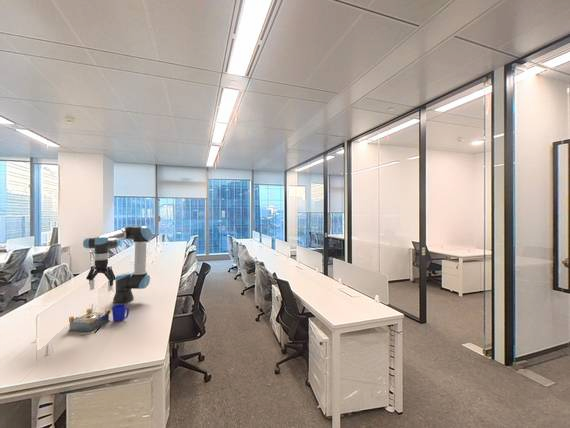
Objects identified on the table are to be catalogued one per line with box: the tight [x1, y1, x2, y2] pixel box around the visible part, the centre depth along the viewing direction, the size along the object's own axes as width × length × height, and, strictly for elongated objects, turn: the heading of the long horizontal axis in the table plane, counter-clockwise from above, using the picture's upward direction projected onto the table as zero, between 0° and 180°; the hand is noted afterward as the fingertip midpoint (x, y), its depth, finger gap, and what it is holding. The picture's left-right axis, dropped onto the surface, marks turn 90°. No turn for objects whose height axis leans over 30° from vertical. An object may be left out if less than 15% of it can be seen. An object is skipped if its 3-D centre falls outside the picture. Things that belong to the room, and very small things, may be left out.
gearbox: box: [68, 308, 111, 334], centre depth 174 cm, size 17×18×8 cm
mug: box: [111, 303, 130, 322], centre depth 184 cm, size 8×12×10 cm
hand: (101, 290), depth 177 cm, fingers open, 13 cm apart
